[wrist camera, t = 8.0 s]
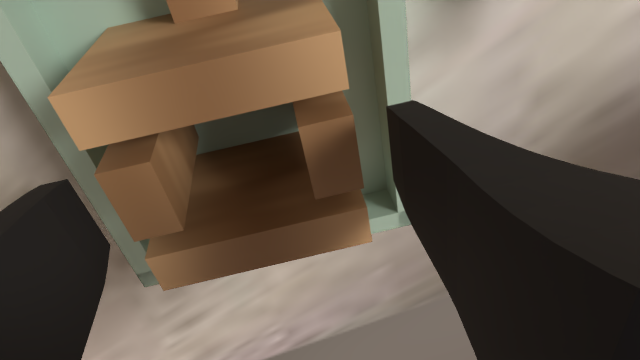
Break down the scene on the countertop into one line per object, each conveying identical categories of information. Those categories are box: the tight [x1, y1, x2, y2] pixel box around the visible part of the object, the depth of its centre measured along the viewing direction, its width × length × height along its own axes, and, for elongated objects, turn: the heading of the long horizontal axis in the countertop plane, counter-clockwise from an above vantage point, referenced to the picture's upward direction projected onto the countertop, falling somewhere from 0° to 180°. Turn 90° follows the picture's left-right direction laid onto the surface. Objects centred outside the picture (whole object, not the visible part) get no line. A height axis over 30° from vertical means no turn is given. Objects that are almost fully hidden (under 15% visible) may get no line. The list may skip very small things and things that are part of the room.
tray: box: [0, 0, 412, 287], centre depth 13 cm, size 10×11×2 cm
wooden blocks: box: [47, 0, 372, 291], centre depth 11 cm, size 6×7×4 cm
